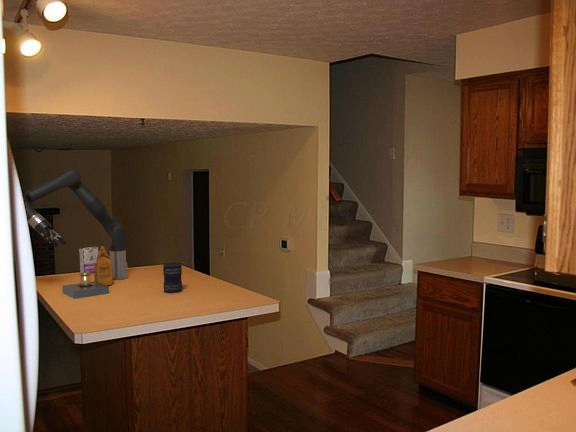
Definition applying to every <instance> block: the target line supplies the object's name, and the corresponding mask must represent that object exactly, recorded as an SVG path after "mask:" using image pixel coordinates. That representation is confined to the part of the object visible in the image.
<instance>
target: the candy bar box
mask: <svg viewBox="0 0 576 432" xmlns="http://www.w3.org/2000/svg"><path fill="white" fill-rule="evenodd" d="M78 251H79V252H78V253H79V267H80V270H79V271H80V272H79V273H81V272H91V274H94V273H95V265H96V259H97V256H98V254H99V251H100V248H99V246H89V247H83V248H79V250H78Z"/></svg>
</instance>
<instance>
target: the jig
mask: <svg viewBox="0 0 576 432" xmlns="http://www.w3.org/2000/svg"><path fill="white" fill-rule="evenodd" d="M61 287H62V294H64V295H66V296H67V297H70V298H72V299H75V300H76V299H82V298H91V297H95V296H102V295H108V294H110V285H105V284H102V283H99V282H97V281H95V280H94V281H92V280H91V281H90V287H84V288H81V284H80V282H79V283H71V284H64V285H62V286H61Z"/></svg>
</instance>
